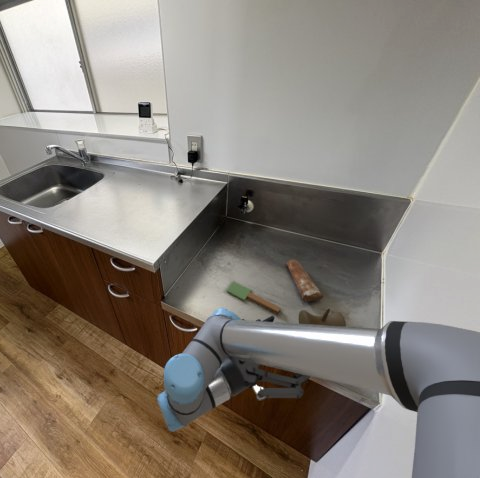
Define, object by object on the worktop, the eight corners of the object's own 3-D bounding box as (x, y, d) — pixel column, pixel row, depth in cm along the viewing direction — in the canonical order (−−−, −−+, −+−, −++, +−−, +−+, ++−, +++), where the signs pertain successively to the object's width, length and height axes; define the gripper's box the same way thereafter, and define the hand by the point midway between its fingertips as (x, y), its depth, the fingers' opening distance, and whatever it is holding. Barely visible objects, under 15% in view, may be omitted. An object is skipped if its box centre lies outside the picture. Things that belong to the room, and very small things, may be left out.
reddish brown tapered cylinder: (302, 305, 84) (306, 295, 81) (283, 264, 99) (286, 254, 95) (321, 304, 84) (327, 294, 80) (300, 264, 98) (303, 253, 95)
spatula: (281, 306, 85) (282, 304, 84) (275, 317, 82) (276, 315, 81) (233, 282, 95) (233, 280, 94) (226, 291, 92) (226, 289, 91)
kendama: (287, 337, 76) (304, 297, 64) (321, 338, 75) (345, 298, 62) (292, 356, 72) (312, 318, 59) (329, 359, 70) (357, 320, 58)
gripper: (195, 342, 69) (256, 311, 74) (257, 446, 51) (332, 395, 56) (194, 328, 64) (260, 295, 70) (263, 437, 46) (344, 382, 52)
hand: (292, 340), depth 63 cm, fingers open, 13 cm apart
